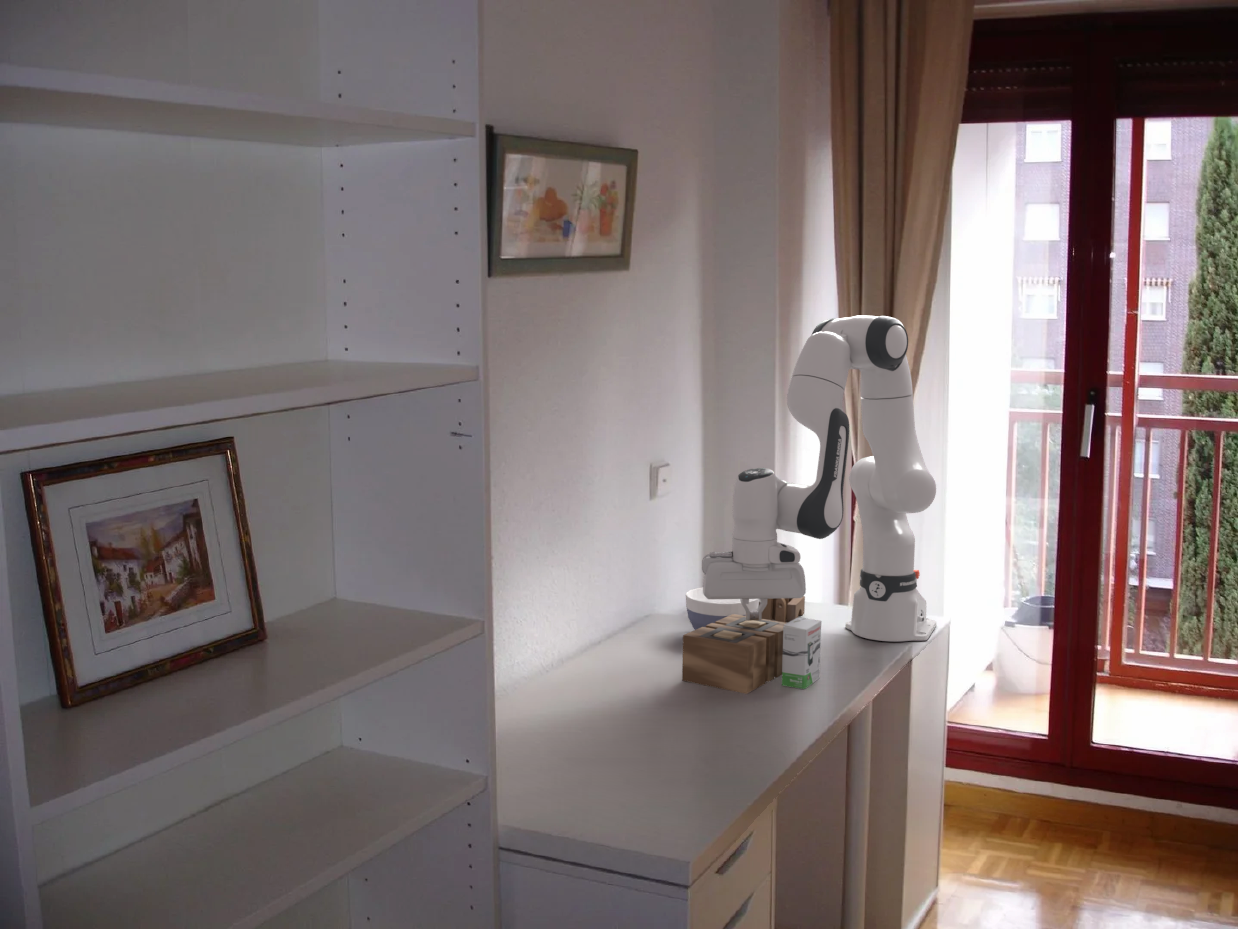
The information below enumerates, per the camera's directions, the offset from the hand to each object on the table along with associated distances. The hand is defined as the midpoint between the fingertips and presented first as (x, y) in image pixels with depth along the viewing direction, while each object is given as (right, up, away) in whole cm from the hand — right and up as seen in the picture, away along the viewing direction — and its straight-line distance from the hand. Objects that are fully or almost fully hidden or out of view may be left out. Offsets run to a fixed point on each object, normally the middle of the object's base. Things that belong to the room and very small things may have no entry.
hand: (753, 620), depth 243 cm
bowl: (-4, -7, +24) cm, 25 cm away
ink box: (+8, -11, -7) cm, 16 cm away
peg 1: (-6, -11, -7) cm, 14 cm away
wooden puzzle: (+5, -5, +45) cm, 45 cm away
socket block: (-3, -10, -3) cm, 11 cm away
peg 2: (0, -10, +1) cm, 10 cm away
